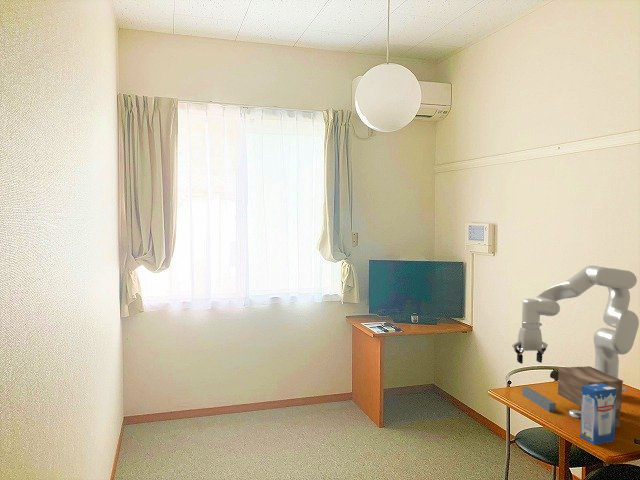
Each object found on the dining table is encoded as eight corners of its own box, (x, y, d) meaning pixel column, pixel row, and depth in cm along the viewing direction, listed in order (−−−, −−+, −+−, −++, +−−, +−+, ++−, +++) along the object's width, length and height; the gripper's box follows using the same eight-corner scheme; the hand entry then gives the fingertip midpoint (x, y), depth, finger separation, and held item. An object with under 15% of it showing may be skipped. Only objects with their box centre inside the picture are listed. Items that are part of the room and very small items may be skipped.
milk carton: (600, 433, 186) (601, 383, 185) (614, 441, 180) (616, 388, 179) (580, 437, 183) (581, 385, 182) (594, 444, 177) (595, 391, 176)
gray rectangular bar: (527, 395, 227) (528, 386, 227) (555, 412, 207) (555, 403, 207) (522, 395, 226) (522, 387, 226) (549, 412, 207) (549, 403, 206)
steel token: (578, 412, 207) (578, 409, 206) (588, 418, 201) (588, 414, 201) (565, 413, 206) (565, 409, 206) (575, 419, 200) (575, 415, 200)
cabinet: (588, 409, 210) (589, 366, 209) (621, 427, 192) (622, 380, 191) (556, 411, 207) (558, 367, 207) (587, 429, 189) (589, 382, 188)
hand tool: (591, 385, 240) (592, 376, 240) (589, 387, 237) (590, 378, 237) (551, 377, 253) (552, 368, 253) (549, 378, 250) (549, 370, 250)
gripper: (542, 323, 227) (541, 359, 228) (508, 324, 224) (507, 360, 225) (552, 327, 220) (551, 364, 220) (518, 328, 217) (516, 365, 218)
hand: (529, 362), depth 223 cm, fingers open, 9 cm apart
